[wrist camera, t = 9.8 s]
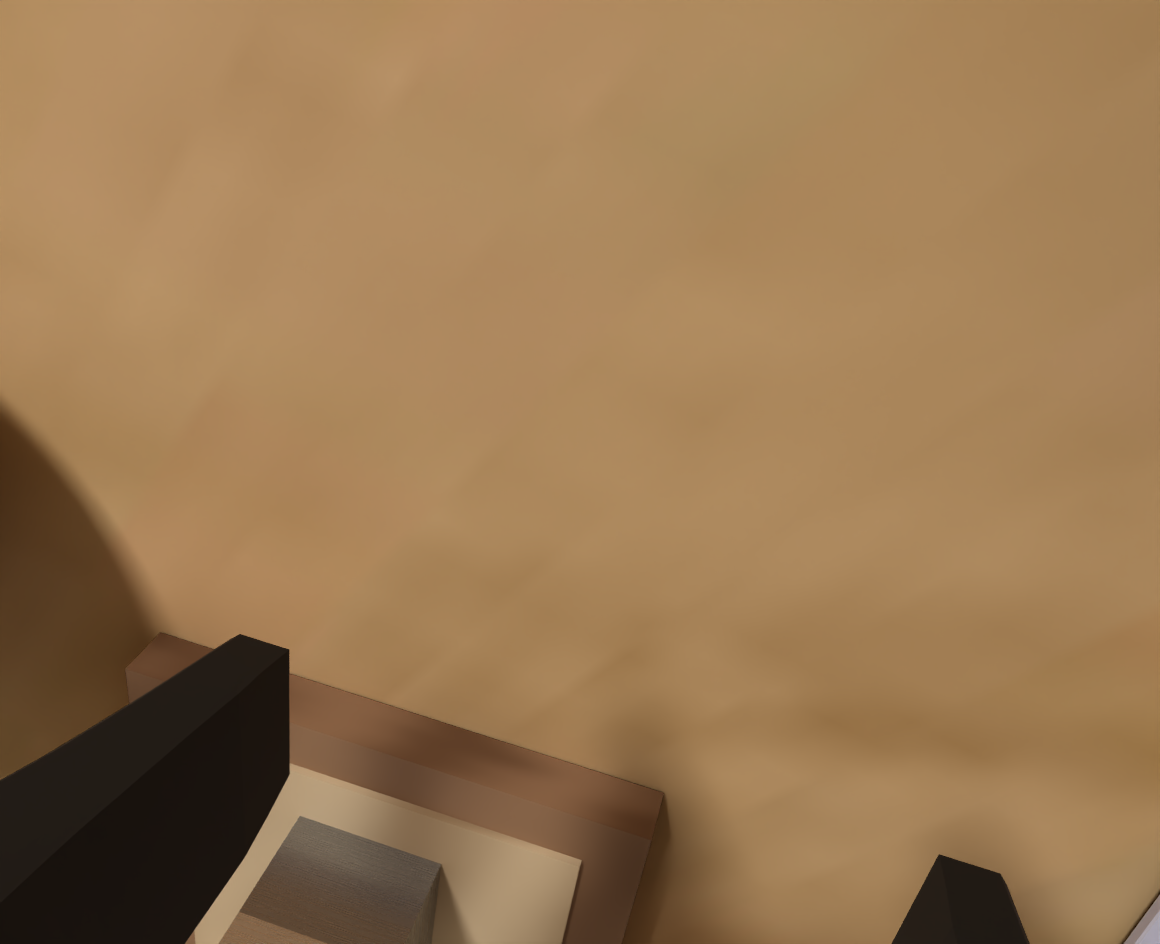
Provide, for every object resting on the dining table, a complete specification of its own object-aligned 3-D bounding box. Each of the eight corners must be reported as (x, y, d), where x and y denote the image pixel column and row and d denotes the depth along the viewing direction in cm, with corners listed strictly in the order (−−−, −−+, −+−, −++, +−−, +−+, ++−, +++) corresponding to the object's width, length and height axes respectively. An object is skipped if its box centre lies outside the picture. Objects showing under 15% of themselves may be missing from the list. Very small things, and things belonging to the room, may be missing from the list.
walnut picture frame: (663, 793, 26) (650, 847, 24) (580, 1082, 33) (566, 1136, 32) (160, 632, 28) (120, 673, 26) (189, 939, 35) (159, 984, 34)
